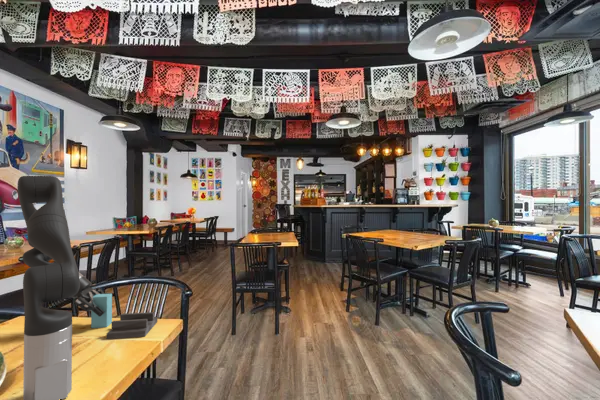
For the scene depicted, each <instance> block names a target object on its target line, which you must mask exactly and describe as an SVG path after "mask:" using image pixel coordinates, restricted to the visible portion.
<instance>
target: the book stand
mask: <svg viewBox="0 0 600 400" xmlns="http://www.w3.org/2000/svg"><path fill="white" fill-rule="evenodd" d="M119 315H120V319H119V320H118V319H117V320H112V323H111V329H110V330H109V331H107V332H106V340H109V339H110V340H111V339H114V340H115V339H126V338H142V337H146V336H147V335H148V333H150V331H151V330H152V329H153V328H154V327H155V325H156V324H157V323H158V317H157V316H155V312H153V311H151V312H150V311H149V312H131V313H129V312H128V313H121V314H119Z"/></svg>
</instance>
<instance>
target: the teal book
mask: <svg viewBox="0 0 600 400" xmlns="http://www.w3.org/2000/svg"><path fill="white" fill-rule="evenodd" d="M93 298H94V299H95V303H96V305H97V306H98V307H100V308H101V309H102V310H103V311H104V314H103V315H102V316H100V317H99V316H98V315H97V314H96V313H94V312H93V311H90V315H91V316H90V317H91V318H90V319H91V320H90V321H91V322H90V323H91V324H90V325H91V327H90V328H91V329H98V328H102V329H103V328H108V327H109V326H110V325H112V321H113V307H112V306H113V293H105V294H98V295H95V296H93ZM97 306H96V307H97Z"/></svg>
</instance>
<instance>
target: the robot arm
mask: <svg viewBox="0 0 600 400" xmlns="http://www.w3.org/2000/svg"><path fill="white" fill-rule="evenodd" d="M17 195H18V196H17V197H18V199H19V205H20V209H21V212H22V215H23V219H24V221H25V226H26V233H27V243H28V245H29V246H30V247H32V248H31V249H29V250H27V251H24V253H23V254H22V261H23V262H24V264H25V265H26V266H28V268H27V269H26V270H25V272H24V274H23V278H22V279H23V280H22V289H23V290H22V293H23V304H24V305H23V306H24V325H23V327H24V328H23V329H24V330H23V383H22V384H23V387H22V388H23V393H22V394H23V399H22V400H59V399H62V400H64V399H67V398H68V397H69V396H68V395H69V394H70V393H71V391H72V389H73V388H72V385H73V384H72V382H73V381H72V380H73V379H72V377H73V376H72V375H73V370H72V369H73V367H72V366H73V365H72V364H73V363H72V362H73V359H72V358H73V356H72V355H73V315H72V313H71V312H70V311H68V310H62V309H54V308H53V309H51V308H47V307H45V306H43V304H44V303H49V302H53V301H54V302H55V301H59V300H65V299H69V298H72V299H75V300H74V301H73V302H74V305H76V306H78V307H79V308H81V309H82V310H84V311H85V312H87V313H88V312H91V311H93V312H94V313H96V314H97V315H98V316H99V317H100V316H102V315H103V314H104V311H103V310H102V309H101V308H100V307H98V306H97V305H96V303H95V299H94V298H93V296H95V295H98V294H106V292H104V291H103V289H102V288H100V287H99V286H98V287H97V288H95V289H94V288H93V287H92V284H93V283H92V282H91V281H90V280H89V279H88V278H86V277H85V275H83V274H82V273H81V272H80V271H79V268H78V265H77V262H76V259H75V256H74V252H73V249H72V245H71V237H70V229H69V225H68V219H67V216H66V212H65V208H64V199H63V198H64V197H63V196H64V195H63V188H62V183H61V180H60V179H59V178H58V177H57V176H52V175H22V176H20V177H18V180H17ZM43 203H44V204H43ZM35 204H43V205H42V206H41V207H39V208H38V209H37V208H36V207H35V206H34V205H35ZM51 260H53V262H50V261H51ZM76 298H77V299H76ZM96 306H97V307H96ZM113 307H114V306H113V305H112V308H113ZM66 397H67V398H66Z"/></svg>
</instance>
